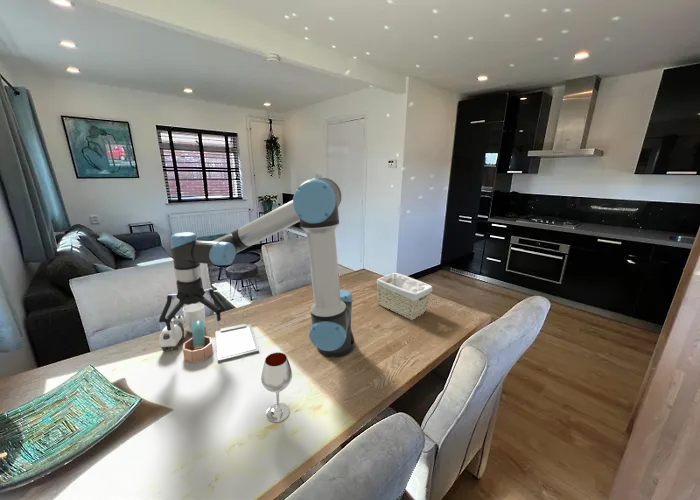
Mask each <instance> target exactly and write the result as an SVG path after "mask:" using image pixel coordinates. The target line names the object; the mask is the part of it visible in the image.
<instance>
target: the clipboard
mask: <svg viewBox="0 0 700 500" xmlns="http://www.w3.org/2000/svg"><path fill="white" fill-rule="evenodd" d="M214 334H215V343H216V355H217V362H218V363H222V362H224V361H229V360H233V359H237V358H241V357H245V356H249V355H253V354H257V353H260V348H259V346H258V343H257V340H256V337H255V333H254V331H253V328H252V325H251V323H249V324H246V323H242V324H237V325H231V326H227V327H223V328H220V329H218V331H216V330H215V332H214Z"/></svg>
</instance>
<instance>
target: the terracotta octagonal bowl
mask: <svg viewBox="0 0 700 500" xmlns="http://www.w3.org/2000/svg"><path fill="white" fill-rule="evenodd" d="M182 352H183V360H184V361H186V362H189V363H197V362H201V361H205V360H206V359H208V358H209V357H210V356H212V355H213V354H214V348H213V340H212V337H211V336H208V335H205V346H204V348H202V349H197V350H194V348H193V338H192V337H191V338H189V339H188V340H186V341H185V342H183V344H182Z"/></svg>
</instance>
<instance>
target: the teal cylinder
mask: <svg viewBox="0 0 700 500" xmlns="http://www.w3.org/2000/svg"><path fill="white" fill-rule="evenodd" d="M205 333H206V332H205V328H204V321H195V322H192V333H191V334H192V336H191V338H193V348H194V350H197V349H202V348H204V346H205V336H206V334H205Z"/></svg>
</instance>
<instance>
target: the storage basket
mask: <svg viewBox="0 0 700 500" xmlns="http://www.w3.org/2000/svg"><path fill="white" fill-rule="evenodd" d="M387 281H390V282H389V283H388V282H387ZM376 288H377V304H378V305H379V306H381V307H383V308H386V309H387V310H389V309H390V310H389V311H392V312H394V313H395V314H397V313H398V314H397V315H399V314H400V315H399V316H401V315H402V316H403V317H405V318H406V319H408V320H410V321H413V319H414V320H415V319H417V318H418V316H419V317H420V316H422V315H424V314H425V313H426V312H427V311H428V308H429V304H430V299H431V294H432V293H431V292H433V290H434V289H433V286H432V285H431V284H428V283H425V282H424V281H421V280H419V279H415V278H414V277H410V276H407V275H405V274H401V273H399V272H393V273H389V274H387V275H384V276H381V277H380V278H377V280H376ZM425 311H426V312H425ZM424 312H425V313H424ZM421 314H422V315H421ZM416 317H417V318H416Z"/></svg>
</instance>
